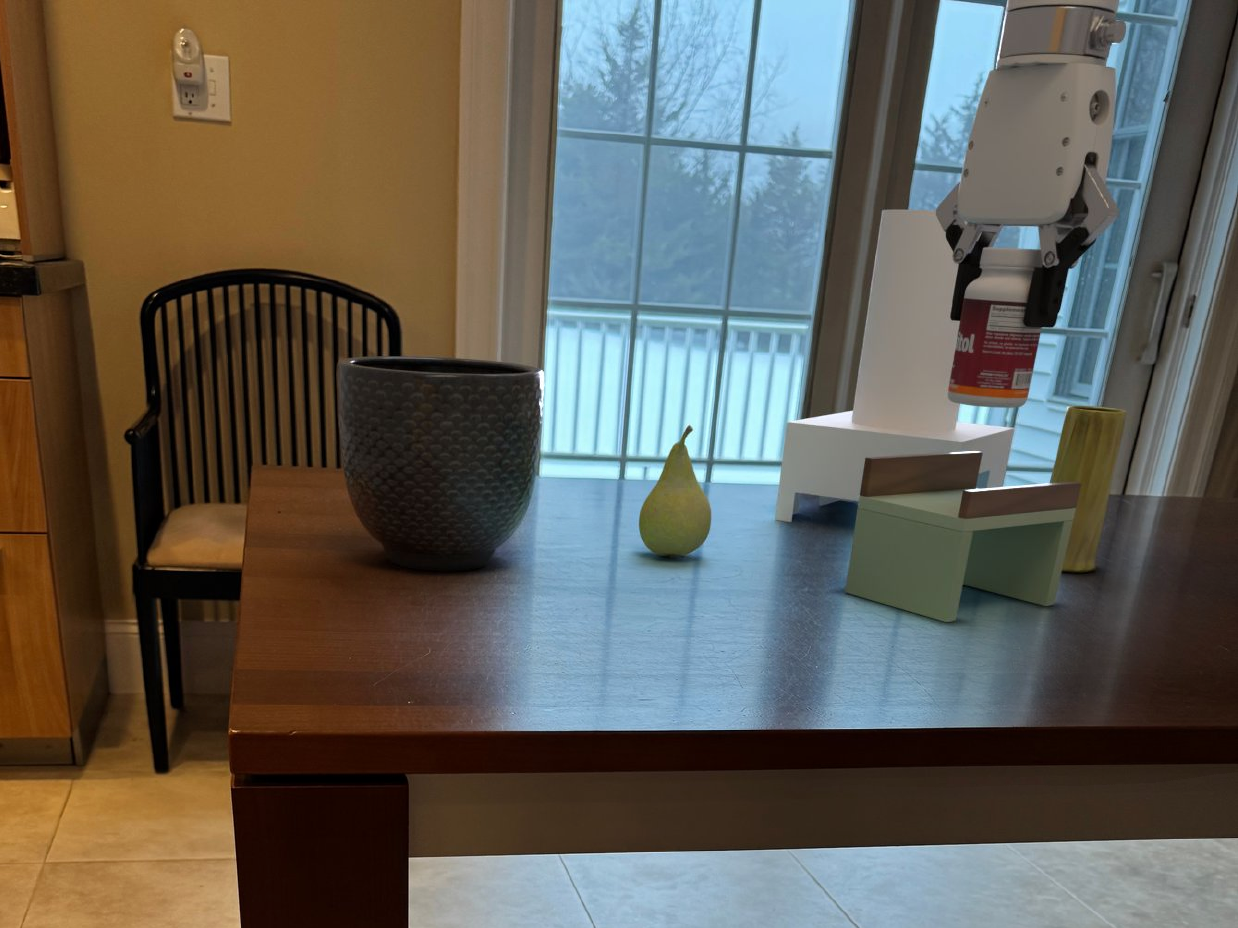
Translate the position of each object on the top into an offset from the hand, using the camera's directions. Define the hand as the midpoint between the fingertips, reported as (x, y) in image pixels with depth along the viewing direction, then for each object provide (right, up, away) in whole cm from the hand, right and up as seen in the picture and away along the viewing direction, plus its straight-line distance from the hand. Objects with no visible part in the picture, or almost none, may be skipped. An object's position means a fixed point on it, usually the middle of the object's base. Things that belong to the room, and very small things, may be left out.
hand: (1001, 321), depth 100 cm
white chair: (+3, -2, +43) cm, 43 cm away
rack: (-1, -19, +10) cm, 22 cm away
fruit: (-24, -13, +20) cm, 33 cm away
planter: (-45, -15, +14) cm, 49 cm away
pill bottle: (0, -5, +3) cm, 6 cm away
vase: (+15, -12, +25) cm, 31 cm away
